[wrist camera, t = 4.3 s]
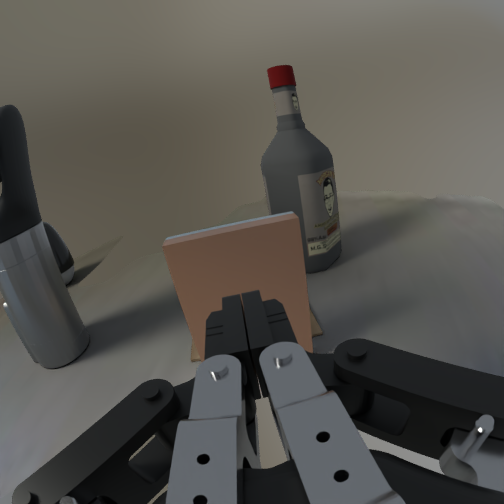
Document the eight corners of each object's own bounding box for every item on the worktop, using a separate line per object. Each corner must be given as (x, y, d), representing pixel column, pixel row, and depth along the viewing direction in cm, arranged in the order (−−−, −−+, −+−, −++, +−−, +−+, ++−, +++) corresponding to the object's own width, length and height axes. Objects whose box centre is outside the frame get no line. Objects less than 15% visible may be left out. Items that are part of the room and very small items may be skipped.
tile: (210, 382, 26) (162, 246, 20) (210, 368, 27) (166, 237, 22) (313, 360, 26) (298, 217, 21) (308, 348, 28) (292, 211, 23)
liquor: (270, 267, 46) (234, 74, 35) (299, 245, 53) (272, 77, 41) (321, 277, 41) (289, 56, 29) (346, 251, 47) (321, 65, 36)
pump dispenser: (55, 278, 61) (34, 222, 56) (86, 271, 61) (65, 211, 56) (36, 297, 52) (11, 235, 46) (68, 291, 52) (43, 223, 46)
